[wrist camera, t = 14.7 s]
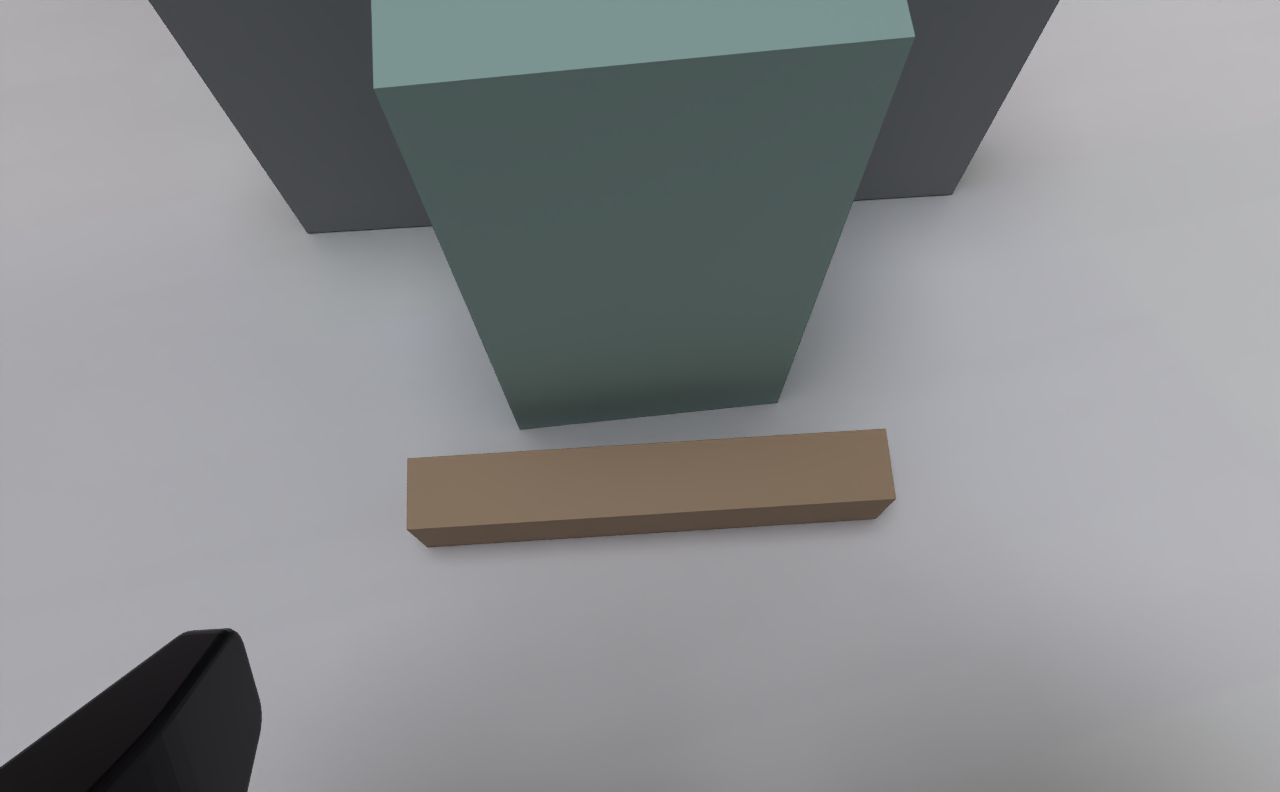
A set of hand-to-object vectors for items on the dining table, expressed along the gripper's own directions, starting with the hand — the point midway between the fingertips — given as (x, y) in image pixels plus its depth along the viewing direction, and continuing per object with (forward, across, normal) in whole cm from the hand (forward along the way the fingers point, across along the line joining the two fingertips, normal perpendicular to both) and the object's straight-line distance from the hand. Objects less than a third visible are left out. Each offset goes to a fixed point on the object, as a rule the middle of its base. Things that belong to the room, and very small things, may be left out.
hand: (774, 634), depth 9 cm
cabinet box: (+16, +1, +3) cm, 16 cm away
